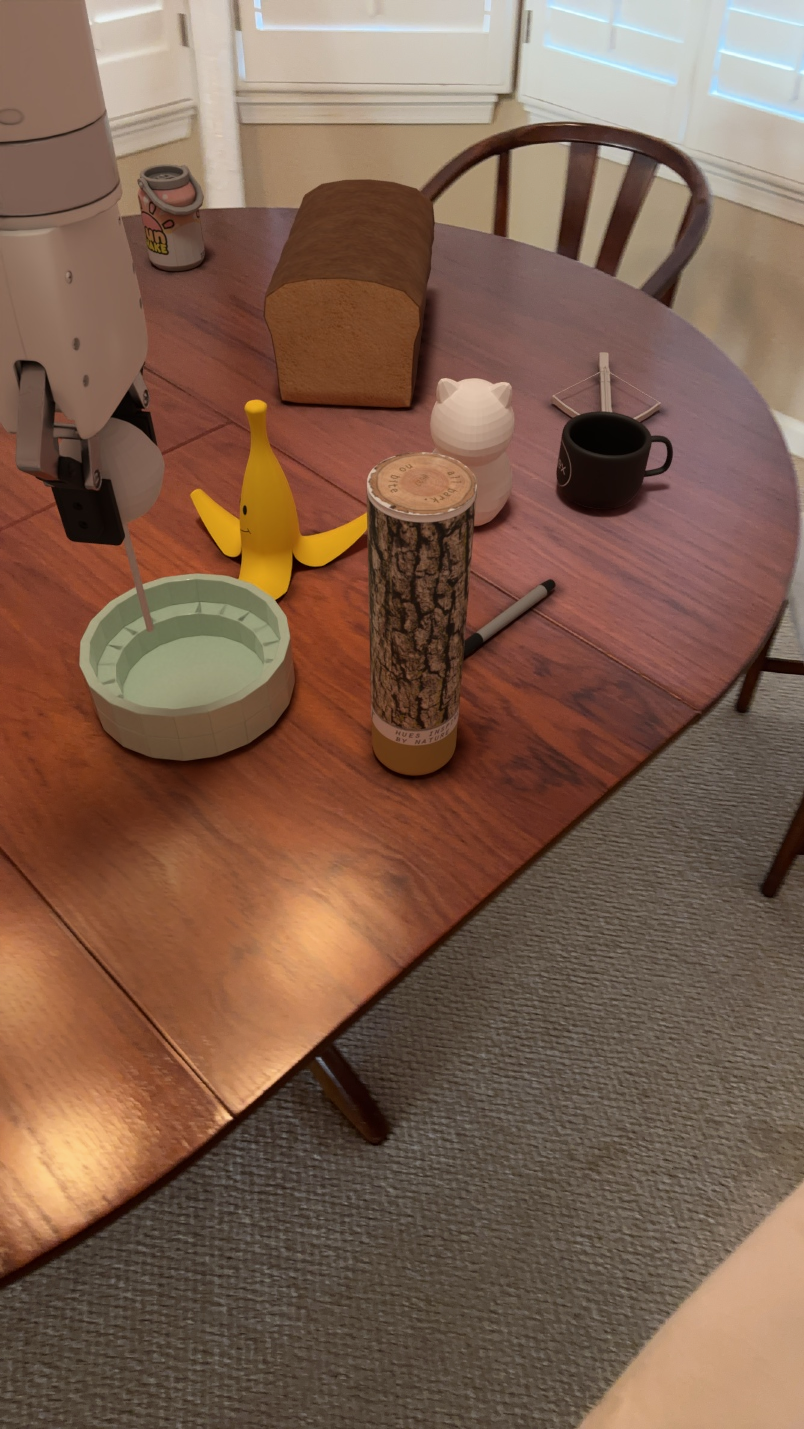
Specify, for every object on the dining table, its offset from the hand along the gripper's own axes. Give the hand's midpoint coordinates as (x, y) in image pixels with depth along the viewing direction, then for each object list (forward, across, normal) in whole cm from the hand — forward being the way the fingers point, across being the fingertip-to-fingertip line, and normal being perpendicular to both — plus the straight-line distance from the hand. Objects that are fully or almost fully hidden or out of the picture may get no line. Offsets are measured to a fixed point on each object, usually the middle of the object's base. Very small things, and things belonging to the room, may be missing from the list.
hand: (116, 502), depth 55 cm
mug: (+26, -44, +34) cm, 61 cm away
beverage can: (+26, -94, -28) cm, 101 cm away
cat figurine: (+26, -40, +19) cm, 51 cm away
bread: (+26, -71, +2) cm, 76 cm away
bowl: (+26, -9, -2) cm, 27 cm away
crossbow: (+26, -64, +33) cm, 77 cm away
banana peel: (+26, -28, +3) cm, 39 cm away
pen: (+26, -21, +23) cm, 40 cm away
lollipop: (+10, 0, 0) cm, 10 cm away
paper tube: (+26, -6, +17) cm, 32 cm away
